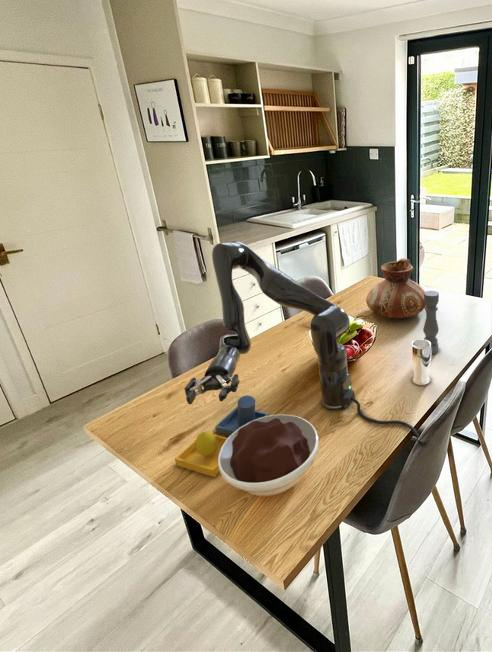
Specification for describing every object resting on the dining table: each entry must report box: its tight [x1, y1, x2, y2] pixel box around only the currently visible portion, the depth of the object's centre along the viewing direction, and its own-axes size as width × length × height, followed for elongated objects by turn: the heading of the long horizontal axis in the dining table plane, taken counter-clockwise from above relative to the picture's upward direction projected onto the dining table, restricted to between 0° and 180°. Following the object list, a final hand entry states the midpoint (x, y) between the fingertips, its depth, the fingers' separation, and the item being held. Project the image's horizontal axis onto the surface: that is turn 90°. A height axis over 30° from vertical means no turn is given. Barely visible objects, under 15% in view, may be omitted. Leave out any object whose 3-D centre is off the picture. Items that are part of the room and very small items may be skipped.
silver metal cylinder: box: [410, 338, 432, 386], centre depth 140 cm, size 7×7×15 cm
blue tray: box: [215, 405, 270, 436], centre depth 123 cm, size 12×10×2 cm
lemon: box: [195, 430, 218, 456], centre depth 110 cm, size 6×6×8 cm
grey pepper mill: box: [422, 290, 440, 355], centre depth 157 cm, size 6×6×25 cm
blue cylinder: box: [237, 395, 256, 427], centre depth 121 cm, size 5×5×9 cm
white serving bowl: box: [218, 413, 320, 497], centre depth 102 cm, size 25×25×15 cm
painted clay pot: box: [365, 257, 426, 320], centre depth 193 cm, size 30×30×25 cm
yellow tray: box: [174, 433, 228, 478], centre depth 111 cm, size 13×11×2 cm
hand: (204, 400), depth 110 cm, fingers open, 8 cm apart
